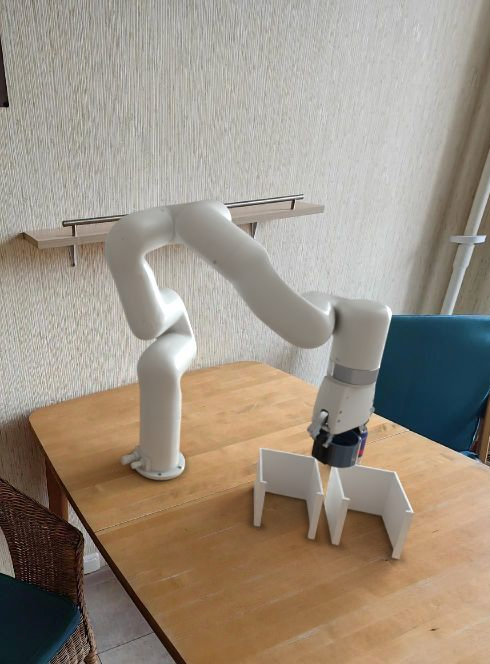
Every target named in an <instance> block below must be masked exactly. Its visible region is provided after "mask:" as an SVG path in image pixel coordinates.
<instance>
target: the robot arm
mask: <svg viewBox="0 0 490 664" xmlns="http://www.w3.org/2000/svg"><path fill="white" fill-rule="evenodd" d="M170 245H171V246H172V245H183V246H185V248H187V249H188V250H190V251H191V252H192V253H193V254H195V256H197V257H198V258H200V259H201V260H202V261H203V262H205V264H207V265H209V266H210V268H212V269H213V270H215V272H217V273H218V274H219V275H221V276H222V277H223V278H224V279H225V280H227V281H228V282H229V283H230V284H231V285H232V287H233V288H234V290H235V292H236V293H237V294H238V296H239V297H240V298H241V299H242V301H243V302H244V303H245V305H246V306H247V307H248V309H249V310H250V311H251V312H252V313H253V314H254V315H255V317H256V318H257V319H259V320H260V321H261V322H262V323H263V324H264V325H265V326H266V327H268V328H269V329H270V330H272V332H274V333H275V334H276V335H278V336H279V337H280V338H281V339H283V340H284V341H286V342H287V343H288V344H290V345H292V346H293V347H294V346H295V347H297V348H300V349H306V350H312V349H317V348H320V347H322V346H323V345H325V344H326V343H327V342H328V341H329V340H330V339H331V337H332V343H331V346H330V347H331V348H330V352H329V358H328V363H327V368H326V369H327V370H326V375H324V377H323V379H322V381H321V383H320V386H319V388H318V391H317V394H316V397H315V401H314V406H313V409H312V414H311V421H310V422H311V423H309V425H308V426H307V428H306V432H307V433H308V434H309V436H310V438H311V440H313V444H312V448H311V455H310V456H311V457H314V458H315V459H317V462H320V463H321V464H322V465H324V466H326V465H327V464H328V462H329V457H330V452H331V446H330V443H331V441H332V439H333V438H334V436H335V434H339V433H342V432H345V431H348V430H350V429H351V430H353V431H354V432H356V433H357V434H358V435H359V436H360V438H361V437H362V433H364V431H365V426H367V424H368V423H369V422H370V418H371V416H372V415H373V414H374V412H375V410H376V408H375V407H374V406H373V405H374V401H375V400H374V399H375V392H376V384H377V380H378V376H379V371H380V368H381V364H382V359H383V354H384V350H385V346H386V342H387V338H388V333H389V329H390V325H391V320H392V310H391V308H390V307H389V306H388V305H387V304H385V303H383V302H380V301H377V300H372V299H367V298H349V297H344V296H340V295H336V294H332V293H329V292H326V291H325V292H324V291H319V290H309V291H305V292H302V293H300V294H299V293H298V292H297V291H296V290H295V289H293V288H292V287H291V286H290V285H289V284H288V283H286V281H285V279H283V278H282V277H281V275H280V274H279V273H278V271H277V270H276V268H275V266H274V264H273V262H272V259H271V256H270V254H269V252H268V251H267V249H266V247H265V246H264V245H263V244H261V243H260V242H259V241H257V240H256V239H255V238H253V237H252V236H251V235H249V233H247V232H246V231H245V230H243V229H241V228H240V227H239V226H238V225H236V224H235V223H234V222H233V221H232V215H231V212H230V209H229V208H228V207H227V206H226V205H225V204H224V203H223V202H221V201H219V200H217V199H212V198H209V199H208V198H207V199H206V198H205V199H202V200H197V201H190V202H183V203H181V202H180V203H175V204H166V205H159V206H158V205H157V206H153V207H150V208H146V209H140V210H137V211H136V210H135V211H133V212H130V213H128V214H126V215H124V216H122V217H121V218H120V219H118V220H117V221H116V222H115V223H114V224H113V225H112V226H111V228H110V229H109V231H108V233H107V235H106V238H105V240H104V247H103V248H104V258H105V262H106V265H107V268H108V270H109V272H110V275H111V277H112V280H113V282H114V285H115V288H116V292H117V295H118V298H119V300H120V304H121V307H122V310H123V313H124V316H125V319H126V322H127V324H128V327H129V329H130V332H131V333H132V335H133V336H134V337H135V338H137V339H139V340H141V341H143V342H144V341H146V342H147V341H152V340H155V341H153V342H152V343H151V344H149V346H148V347H146V348H145V350H144V351H143V352H141V354H140V355H139V358H138V360H137V364H136V375H137V376H136V377H137V380H138V381H137V382H138V387H139V430H138V431H139V436H138V437H139V439H138V443H139V444H138V445H135V446H134V451H132V452H131V454H126V455H122V456H120V462H121V464H122V466H126V465H129V464H130V467H131V469H132V470H135V471H136V472H137V473H138V474H140V475H141V476H143V477H145V478H148V479H151V480H155V481H168V480H173V479H175V478H177V477H178V476H180V475H181V474H182V473H183V472H184V470H185V467H186V458H185V457H184V455H183V453H182V452H181V451H180V446H181V445H180V444H181V443H180V441H181V427H182V425H181V424H182V404H183V397H182V390H181V379H182V376H183V375H184V374H185V372H186V371H187V369H189V367H190V366H191V365H192V363H194V361H195V359H196V357H197V352H198V349H197V348H198V347H197V341H196V338H195V335H194V331H193V329H192V325H191V322H190V318H189V315H188V313H187V308H186V306H185V303H184V301H183V300H182V298H181V296H180V295H179V294H178V293H177V292H176V290H173V289H172V288H170V287H167V286H158V282H157V280H156V275H155V273H154V271H153V269H152V267H151V265H150V264H149V263H148V262H147V260H146V258H145V257H146V255H147V254H148V253H150V252H153V251H155V250H157V249H159V248H161V247H164V246H170ZM326 424H328V427H326V426H325V425H326ZM329 428H330V429H329ZM323 430H325V431H326V432H328V435H327V437H326V438H324V437H323V436H322V435H321V433H322V432H323ZM360 433H361V434H360ZM327 466H328V465H327Z"/></svg>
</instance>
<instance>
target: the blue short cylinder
mask: <svg viewBox="0 0 490 664" xmlns="http://www.w3.org/2000/svg"><path fill="white" fill-rule="evenodd" d="M325 426H326V427H328V424H327V423H326V425H325ZM329 429H330V428H329ZM321 435H322V436H323V437H324V438H326V437H327V435H328V432H326V431H325V430H323V432H322V433H321ZM360 445H361V438H360V436H359V435H358V434H357V433H356V432H354V431H353V430H351V429H350V430H348V431H345V432H342V433H339V434H335V436H334V438H333V439H332V441H331V443H330V446H331V452H330V457H329V462H328V464H327V466H329V467H331V468H332V467H336V468H348V467H351V466H354V465H355V464H356V462H357V458H358V454H359V450H360Z"/></svg>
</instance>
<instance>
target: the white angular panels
mask: <svg viewBox="0 0 490 664" xmlns="http://www.w3.org/2000/svg"><path fill="white" fill-rule="evenodd" d="M318 462H319V461H318V460H317V459H315V458H314V457H312V455H305V454H299V453H294V452H288V451H283V450H277V449H271V448H265V447H261V446H260V447H259V450H258V458H257V465H256V471H255V477H254V478H255V479H254V486H253V526H254V527H261V522H262V515H263V510H264V502H265V495H266V492H267V493H271V494H275V495H281V496H286V497H290V498H295V499H300V500H305V501H306V507H307V513H308V514H307V515H308V521H309V529H308V533H307V539H311V540H315V538H316V533H317V529H318V524H319V519H320V515H321V510H322V506H323V505H324V510H325V516H326V520H327V521H326V522H327V525H328V532H329V535H330V542H331V544H332V545H336V546H339V545H340V541H341V537H342V534H343V529H344V525H345V521H346V516H347V512H348V510H352V511H357V512H362V513H367V514H372V515H376V516H380V517H381V518H382V520H383V524H384V526H385V529H386V532H387V536H388V538H389V541H390V543H391V544H390V545H391V546H392V549H393V550H392V553H391V558H392V559H396V560H401V559H400V558H401V556H402V552H403V550H404V546H405V543H406V539H407V536H408V534H409V530H410V527H411V524H412V521H413V518H414V516H415V512H414V509H413V508H412V505H411V503H410V500H409V498H408V496H407V493H406V491H405V489H404V487H403V485H402V482H401V480H400V478H399V476H398V473H397V471H394V470H389V469H384V468H378V467H372V466H367V465H361V464H360V465H356V464H355V465H354V466H351V467H348V468H336V467H332V466H331V468H330V474H329V477H328V482H327V486H326V491H325V492H324V489H323V483H322V479H321V473H320V468H319V463H318Z"/></svg>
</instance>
